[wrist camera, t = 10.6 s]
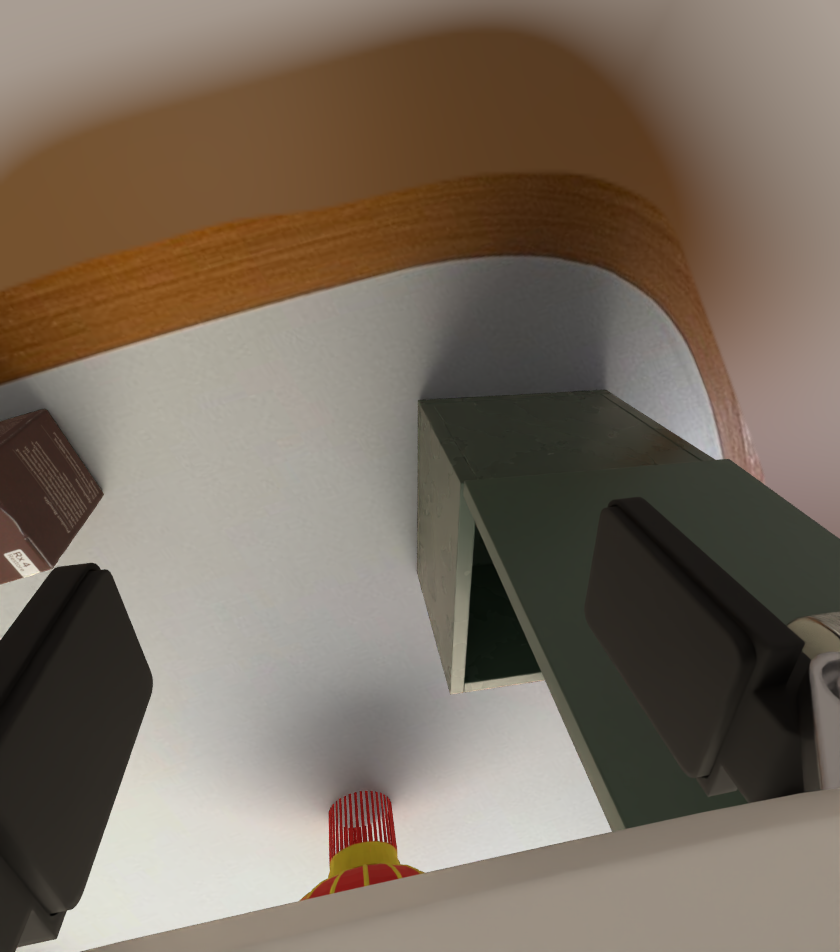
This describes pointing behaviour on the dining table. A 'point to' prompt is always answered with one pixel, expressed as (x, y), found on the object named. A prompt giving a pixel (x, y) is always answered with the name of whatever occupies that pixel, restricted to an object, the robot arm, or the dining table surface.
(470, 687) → the green open box
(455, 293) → the dining table surface
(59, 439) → the box
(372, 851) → the lantern
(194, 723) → the dining table surface
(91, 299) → the dining table surface
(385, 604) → the dining table surface
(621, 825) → the bin lid
